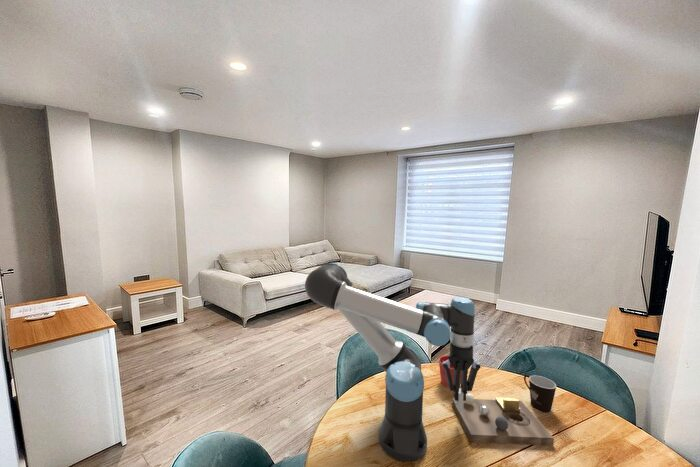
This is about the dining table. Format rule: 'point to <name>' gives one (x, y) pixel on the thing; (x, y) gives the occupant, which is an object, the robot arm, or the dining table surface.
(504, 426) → the grey ball
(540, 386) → the coffee mug
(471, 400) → the cream ball
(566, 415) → the dining table surface
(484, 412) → the steel ball
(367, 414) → the dining table surface
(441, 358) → the flower pot
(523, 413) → the board
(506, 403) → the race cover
